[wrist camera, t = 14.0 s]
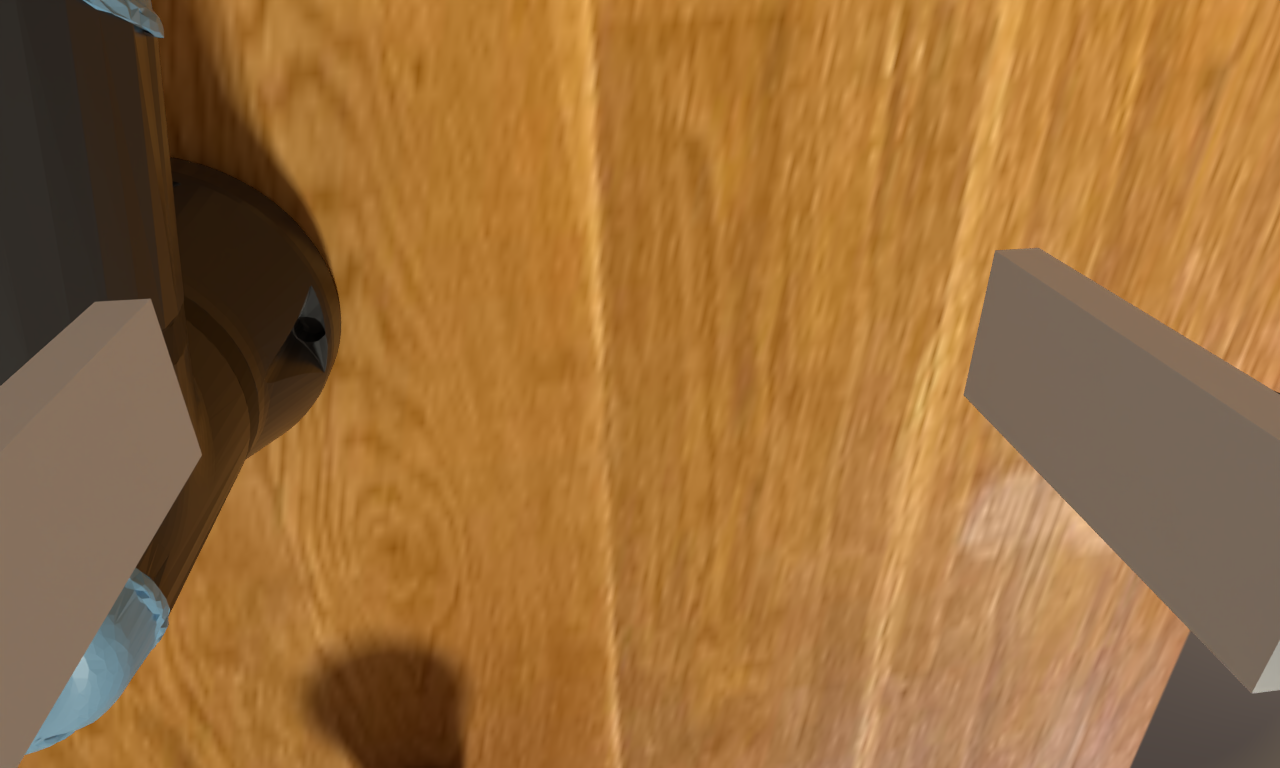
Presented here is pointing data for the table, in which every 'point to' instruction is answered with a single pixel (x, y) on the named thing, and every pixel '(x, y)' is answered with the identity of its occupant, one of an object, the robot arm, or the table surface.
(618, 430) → the table surface
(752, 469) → the table surface
